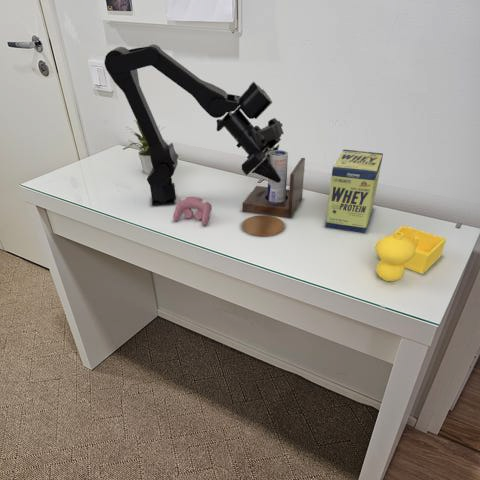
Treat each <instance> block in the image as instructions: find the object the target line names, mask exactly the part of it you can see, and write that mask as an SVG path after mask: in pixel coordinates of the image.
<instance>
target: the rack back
mask: <svg viewBox="0 0 480 480" xmlns="http://www.w3.org/2000/svg"><path fill="white" fill-rule="evenodd" d="M305 166H306V158H305V157H301V158H300V159H299V161H298V163H297V164H296V165H295V167H294V168H293V170H292V171H291V173H290V174H289V189H288V190H289V206H288V209H289V211H288V217H289V218H288V219H292V218H291V213H289V212H291V210H292V212H295V213H296V211H294V210H295V209H294V208H296V207H295V205H296V202H297V200H298V198H299V197H301V198H299V199H300V200H301V201H300V200H299V201H298V203H299V202H300V203H301V202H302V200H303V191H304V176H305ZM301 195H302V196H301ZM293 207H294V208H293ZM295 213H293V214H292V215H293V216H294V214H295Z"/></svg>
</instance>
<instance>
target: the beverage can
mask: <svg viewBox="0 0 480 480" xmlns="http://www.w3.org/2000/svg"><path fill="white" fill-rule="evenodd" d="M269 155H270V163H271V165H272V166H273V168H274V169H275V171H276V172H277V174H278V175H279V177H280V179H281V181H280V182H279V183H278V182H275V181H273V180H271V179H269V178H267V187H268V201H270V202H284V201H286V189H287V179H288V162H289V161H288V160H289V156H288V155H289V152H287V151H286V150H282V149H278V150H274V151H270V152H269Z"/></svg>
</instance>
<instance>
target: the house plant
mask: <svg viewBox="0 0 480 480" xmlns="http://www.w3.org/2000/svg"><path fill="white" fill-rule="evenodd" d="M133 121H134V122H135V124H136V125H137V128H138V131H139V133H140V134H141V135H140V134H139V133H137V132H134V130H133V129H132V128H130V134H132V136H136V138H137V140H138V141H139V142H138V143H137V142H134V141H132V140H129V142H130V143H129V145H128V148H130V147H132V146H136V147H137V148H139V151H138V157H139V161H140V163H141V166H142V169H143V170H142V171H143V173H144V174H147V175H149V174H150V172H151V170H152V168H153V166H152V162H151V158H150V151H149V146H148V144H147V142H146V140H145V138H144V135H143V133H142V131H141V129H140V127H139V124H138V122H137V120H136V119H133ZM157 127H158V129H160V126H157ZM165 128H166V126H165V127H162V128H161V129H160V131H162V130H163V129H165ZM125 130H127V131H129V126H126V129H125ZM139 143H141V144H139Z"/></svg>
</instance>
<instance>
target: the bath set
mask: <svg viewBox="0 0 480 480" xmlns="http://www.w3.org/2000/svg"><path fill="white" fill-rule="evenodd" d="M446 241H447V238H446V237H442V236H440V235H435V234H433V233H429V232H426V231H422V230H419V229H416V228H413V227H410V226H407V225H403V224H402V226H400V227H399V228H398V229H397V230H395V231H394V232H393V233H392V234H389V235H386V236H384V237H382V238H380V239H379V240H378V241H377V243H375V252H376V255H377V257H378V258H379V259H380V260H379V262H378V263H377V265H376V274H377V275H378V276H379V278H380V279H382V280H383V281H385V282H394V281H398V280H399V279H401V278H402V277H403V276H404V273H405V270H406V269H407V270H409V271H413V272H416V273H419V274H421V275H424V274H425V273H426V272H427V271H428V270H429V269H430V268H431V267H432V266H433V265H434V264H435V263H436V262H437V261H438V260H439V259H440V258H441V257H442V254H443V252H444V251H443V250H444V249H445V244H446Z"/></svg>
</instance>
